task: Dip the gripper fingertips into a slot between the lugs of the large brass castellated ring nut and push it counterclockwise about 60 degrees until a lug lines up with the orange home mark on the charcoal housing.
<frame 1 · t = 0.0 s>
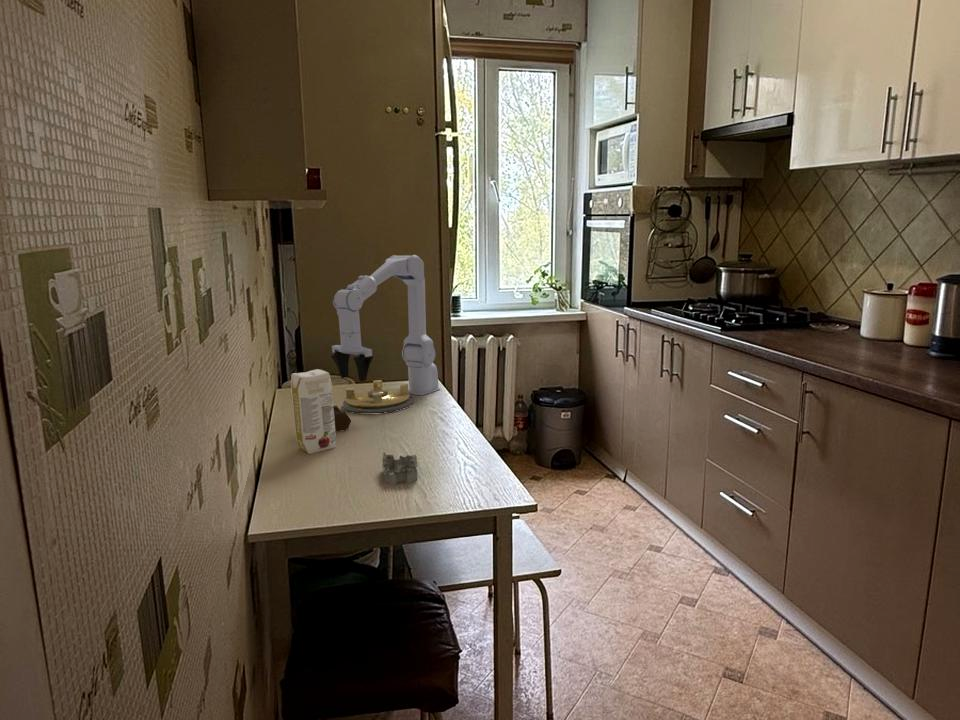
hand: (353, 379, 191), 10 cm above the table, tool pointing down, fingers open, 7 cm apart
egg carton: (400, 476, 144), on the table
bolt: (336, 425, 184), on the table
nut housing: (378, 404, 202), on the table
juice carton: (316, 449, 163), on the table
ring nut: (377, 393, 201), point 3 cm above the table, hinge at 0.0°
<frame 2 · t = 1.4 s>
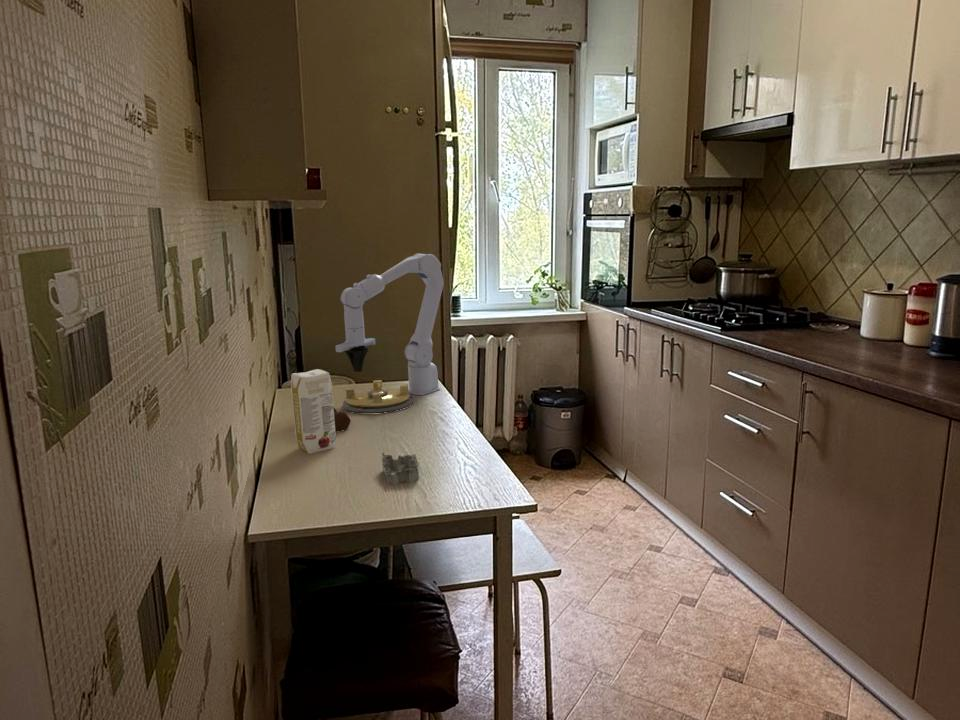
hand: (357, 371, 205), 9 cm above the table, tool pointing down, fingers closed
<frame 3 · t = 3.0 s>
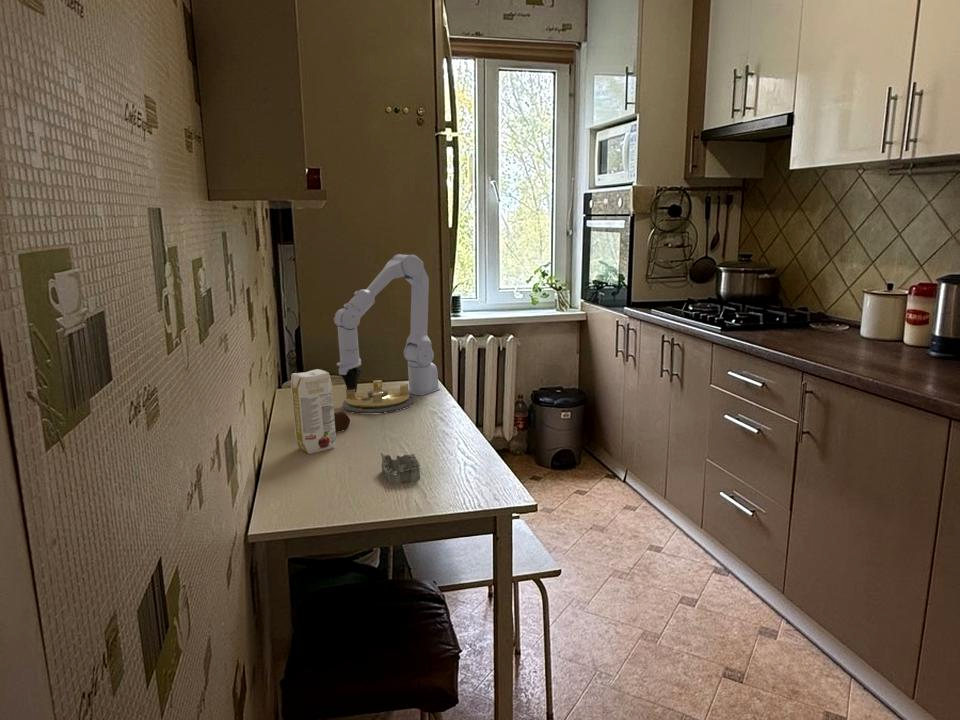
hand: (352, 392, 202), 4 cm above the table, tool pointing down, fingers closed, pressing on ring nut
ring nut: (377, 393, 201), point 3 cm above the table, hinge at 0.0°, touching gripper
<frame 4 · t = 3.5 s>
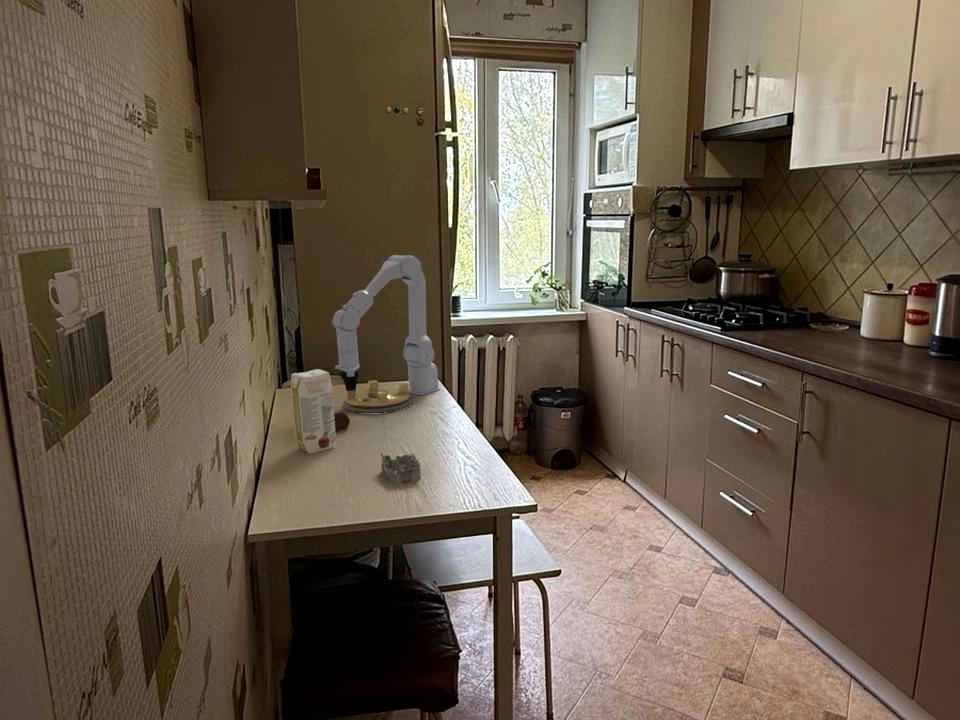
hand: (351, 395, 199), 4 cm above the table, tool pointing down, fingers closed, pressing on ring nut
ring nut: (377, 393, 201), point 3 cm above the table, hinge at 10.2°, touching gripper
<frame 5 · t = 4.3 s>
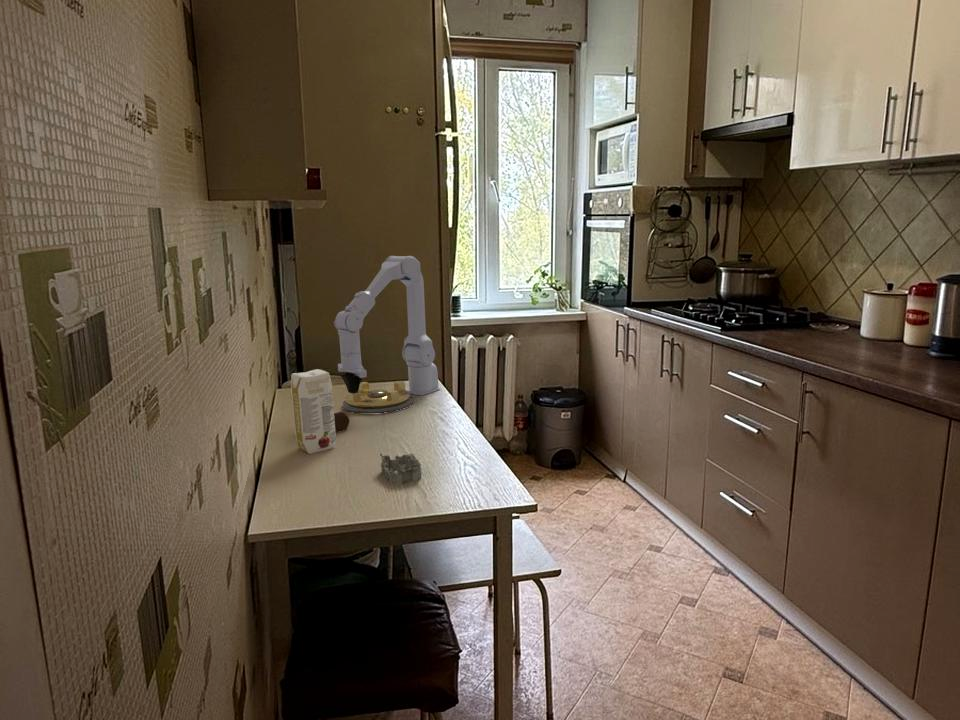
hand: (353, 397, 197), 4 cm above the table, tool pointing down, fingers closed, pressing on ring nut
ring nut: (377, 393, 201), point 3 cm above the table, hinge at 33.4°, touching gripper
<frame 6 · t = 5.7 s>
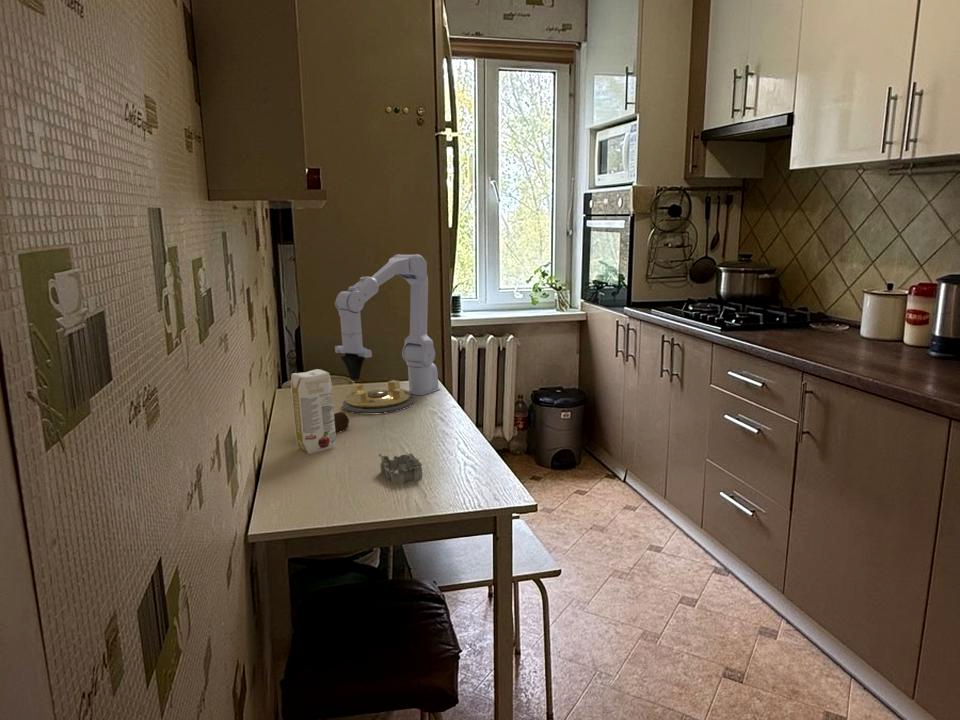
hand: (355, 379, 194), 9 cm above the table, tool pointing down, fingers closed
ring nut: (377, 393, 201), point 3 cm above the table, hinge at 51.5°
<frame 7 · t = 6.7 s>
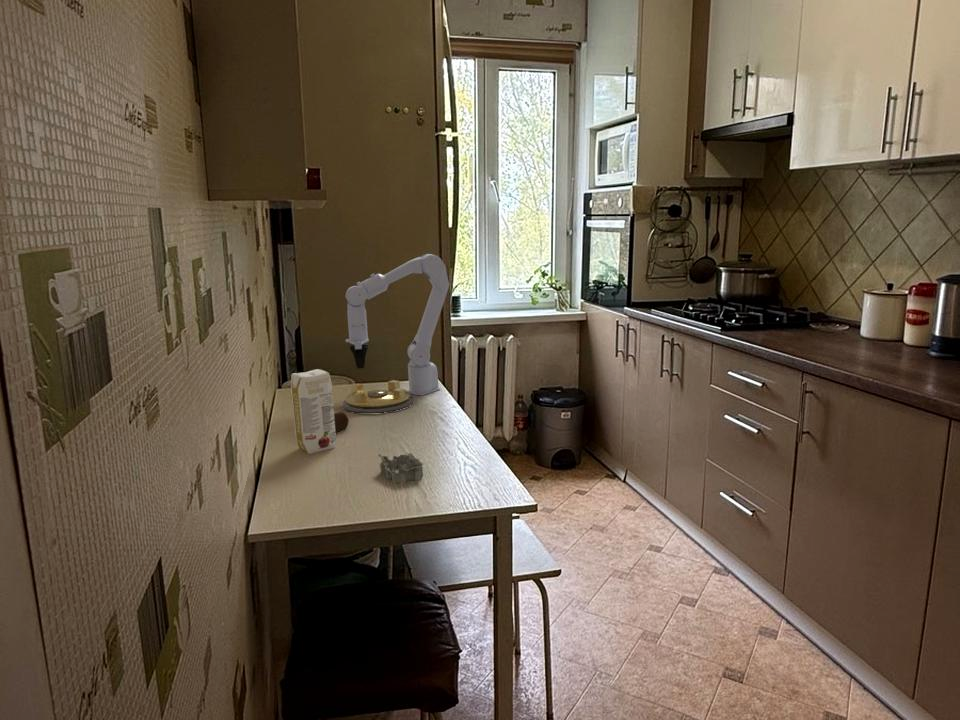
hand: (360, 367, 209), 9 cm above the table, tool pointing down, fingers closed
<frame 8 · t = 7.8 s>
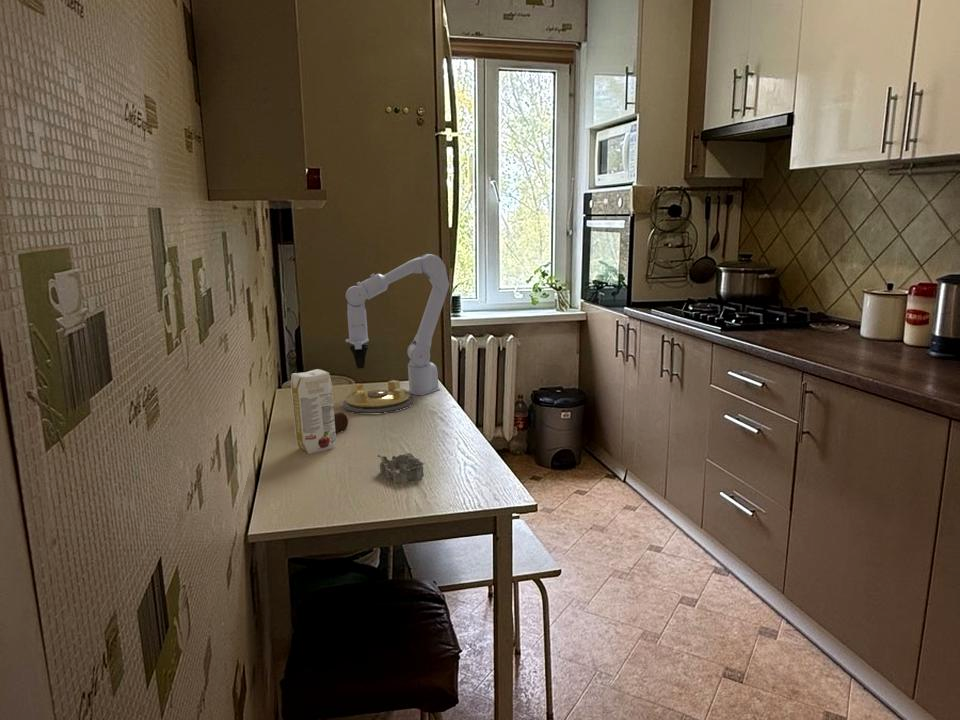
hand: (360, 367, 209), 9 cm above the table, tool pointing down, fingers closed
at the end: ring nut at +52° (first picture: +0°); the gripper is holding nothing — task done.
